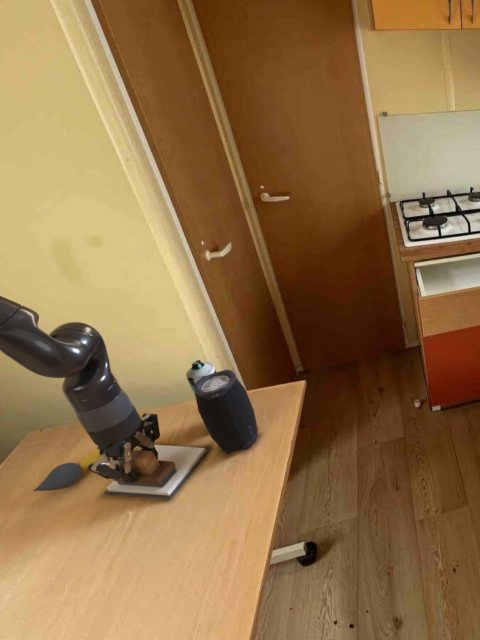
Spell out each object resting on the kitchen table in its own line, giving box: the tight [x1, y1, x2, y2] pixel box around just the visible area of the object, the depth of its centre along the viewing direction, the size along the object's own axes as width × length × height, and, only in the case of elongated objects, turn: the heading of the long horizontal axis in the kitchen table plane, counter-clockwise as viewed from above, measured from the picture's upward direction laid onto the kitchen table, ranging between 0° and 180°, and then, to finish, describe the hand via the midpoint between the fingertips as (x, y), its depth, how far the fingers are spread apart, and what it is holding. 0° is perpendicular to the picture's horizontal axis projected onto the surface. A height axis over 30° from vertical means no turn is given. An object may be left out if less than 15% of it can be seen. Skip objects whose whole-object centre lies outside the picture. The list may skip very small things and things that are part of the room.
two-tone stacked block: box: [112, 449, 176, 488], centre depth 90 cm, size 4×10×8 cm, turn 86°
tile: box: [103, 444, 211, 500], centre depth 95 cm, size 15×12×2 cm
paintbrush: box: [32, 429, 144, 492], centre depth 96 cm, size 20×5×5 cm, turn 158°
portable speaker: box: [194, 368, 259, 455], centre depth 98 cm, size 9×9×20 cm
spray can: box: [185, 359, 217, 395], centre depth 103 cm, size 6×6×20 cm
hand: (143, 470), depth 91 cm, fingers closed on two-tone stacked block, 4 cm apart
